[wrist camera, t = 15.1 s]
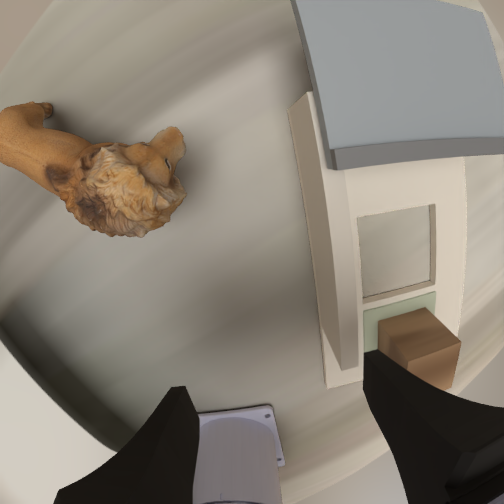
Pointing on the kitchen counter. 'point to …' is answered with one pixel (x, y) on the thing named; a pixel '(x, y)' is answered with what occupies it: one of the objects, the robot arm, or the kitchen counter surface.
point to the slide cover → (401, 80)
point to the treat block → (421, 346)
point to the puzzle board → (347, 242)
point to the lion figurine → (96, 171)
